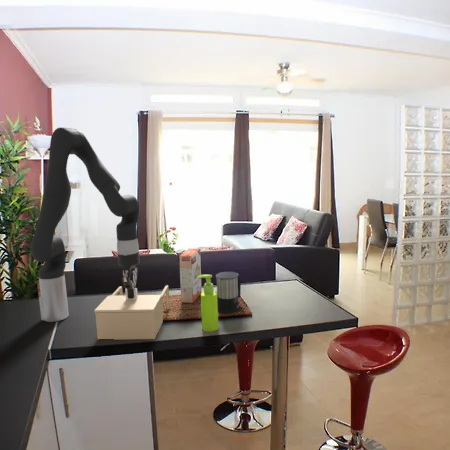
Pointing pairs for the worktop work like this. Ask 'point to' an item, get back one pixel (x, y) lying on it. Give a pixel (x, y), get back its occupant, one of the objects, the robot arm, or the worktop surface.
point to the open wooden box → (130, 322)
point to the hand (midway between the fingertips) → (131, 297)
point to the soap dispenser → (209, 306)
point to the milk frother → (228, 292)
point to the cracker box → (190, 275)
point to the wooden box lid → (129, 303)
